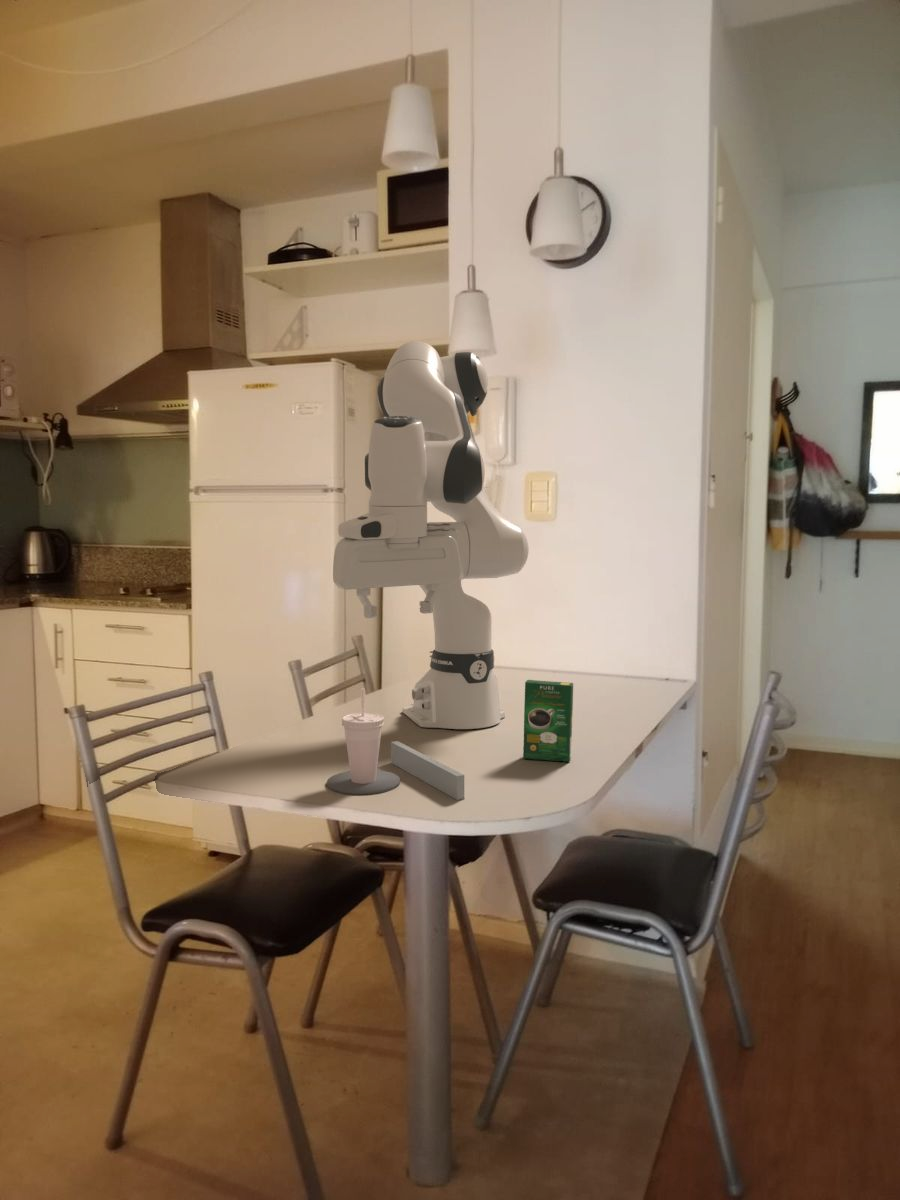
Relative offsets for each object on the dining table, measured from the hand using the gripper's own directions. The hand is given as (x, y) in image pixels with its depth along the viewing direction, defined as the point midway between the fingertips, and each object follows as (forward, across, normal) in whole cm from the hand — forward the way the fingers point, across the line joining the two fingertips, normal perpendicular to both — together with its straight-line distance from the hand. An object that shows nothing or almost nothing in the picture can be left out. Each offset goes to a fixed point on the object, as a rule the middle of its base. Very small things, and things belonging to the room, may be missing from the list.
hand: (398, 615), depth 138 cm
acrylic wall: (+25, -2, +4) cm, 26 cm away
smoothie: (+25, +7, +2) cm, 26 cm away
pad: (+25, +7, +2) cm, 26 cm away
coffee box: (+26, -25, +4) cm, 36 cm away
